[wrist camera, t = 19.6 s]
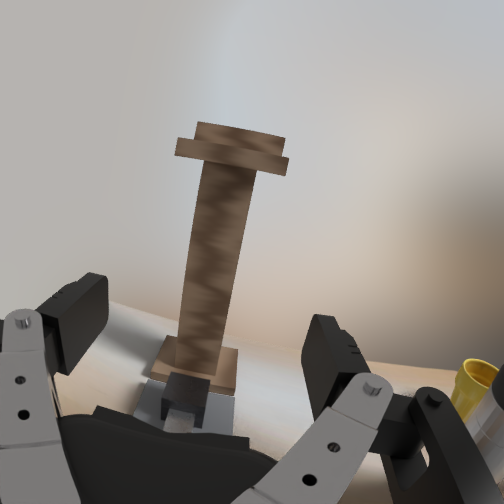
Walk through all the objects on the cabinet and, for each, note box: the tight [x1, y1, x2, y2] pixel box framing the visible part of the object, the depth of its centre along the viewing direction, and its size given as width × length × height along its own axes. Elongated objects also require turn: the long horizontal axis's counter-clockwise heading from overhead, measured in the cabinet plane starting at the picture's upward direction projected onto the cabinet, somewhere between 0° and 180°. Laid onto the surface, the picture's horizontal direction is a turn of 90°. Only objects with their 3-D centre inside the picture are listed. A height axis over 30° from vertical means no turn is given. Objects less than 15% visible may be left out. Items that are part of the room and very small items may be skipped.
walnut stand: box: [151, 122, 289, 396], centre depth 40 cm, size 12×10×35 cm
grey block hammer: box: [161, 371, 211, 433], centre depth 28 cm, size 5×16×4 cm, turn 0°
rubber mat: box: [133, 379, 235, 436], centre depth 30 cm, size 12×17×1 cm
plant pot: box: [450, 359, 499, 424], centre depth 37 cm, size 10×10×10 cm
